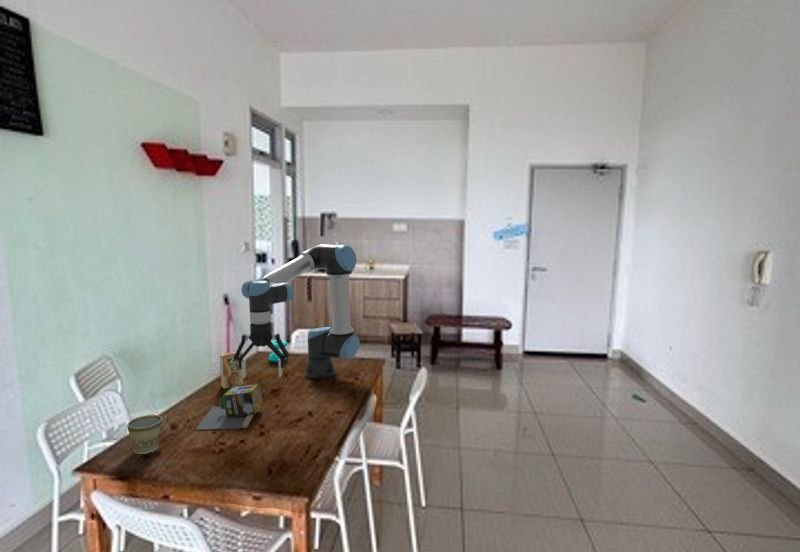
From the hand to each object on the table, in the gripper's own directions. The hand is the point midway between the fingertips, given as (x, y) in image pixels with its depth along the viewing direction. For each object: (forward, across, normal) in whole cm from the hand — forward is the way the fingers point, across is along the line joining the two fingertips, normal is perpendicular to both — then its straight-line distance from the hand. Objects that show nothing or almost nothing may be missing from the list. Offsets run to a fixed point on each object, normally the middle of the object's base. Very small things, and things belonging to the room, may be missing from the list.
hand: (262, 376), depth 173 cm
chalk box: (+10, +2, -2) cm, 10 cm away
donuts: (+16, +7, -74) cm, 76 cm away
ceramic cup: (+16, +32, +22) cm, 42 cm away
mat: (+16, +13, 0) cm, 21 cm away
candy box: (+16, +21, -35) cm, 44 cm away
